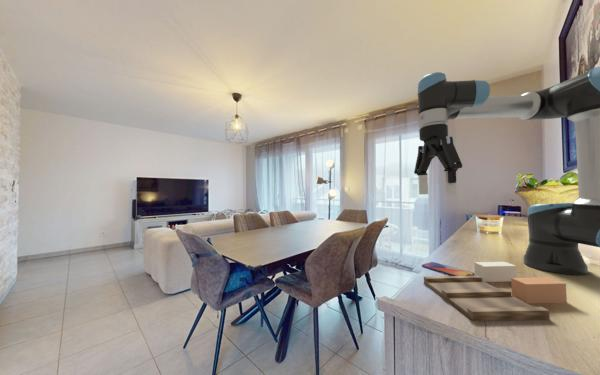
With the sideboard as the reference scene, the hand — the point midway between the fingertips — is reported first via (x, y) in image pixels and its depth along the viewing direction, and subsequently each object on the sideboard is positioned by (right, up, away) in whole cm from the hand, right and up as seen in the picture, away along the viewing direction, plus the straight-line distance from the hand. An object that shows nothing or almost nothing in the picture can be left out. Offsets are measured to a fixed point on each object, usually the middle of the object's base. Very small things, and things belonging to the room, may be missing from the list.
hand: (435, 194), depth 67 cm
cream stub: (+22, -28, +3) cm, 35 cm away
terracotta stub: (+21, -27, -10) cm, 36 cm away
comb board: (+6, -28, -8) cm, 30 cm away
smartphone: (+11, -28, +12) cm, 33 cm away
